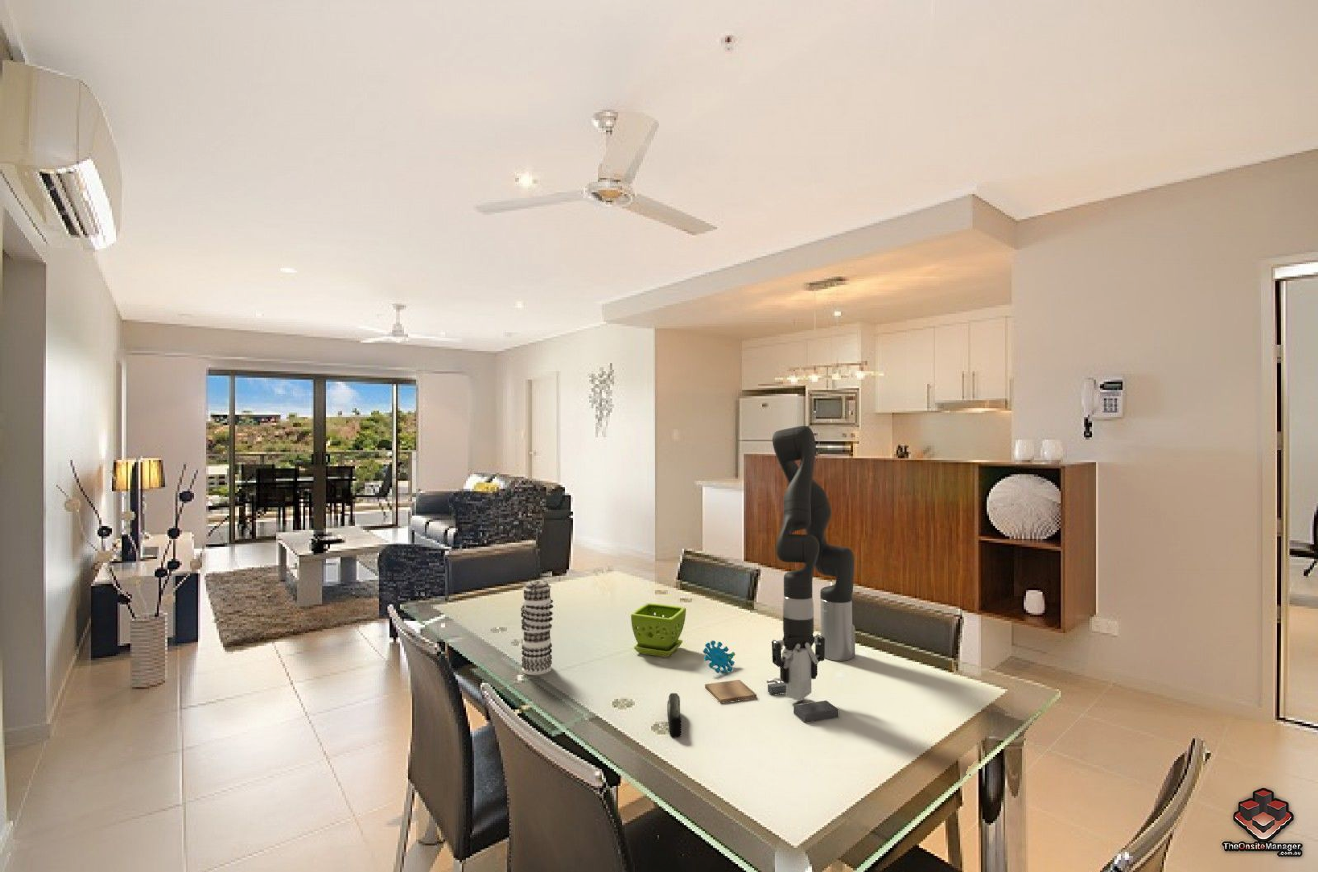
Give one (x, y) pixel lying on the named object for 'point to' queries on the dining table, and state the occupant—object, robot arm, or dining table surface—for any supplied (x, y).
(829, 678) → the dining table surface
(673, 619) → the flower pot
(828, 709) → the dark grey blocks
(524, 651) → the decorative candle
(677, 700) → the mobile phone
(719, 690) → the coaster
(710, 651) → the gear
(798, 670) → the skincare box
